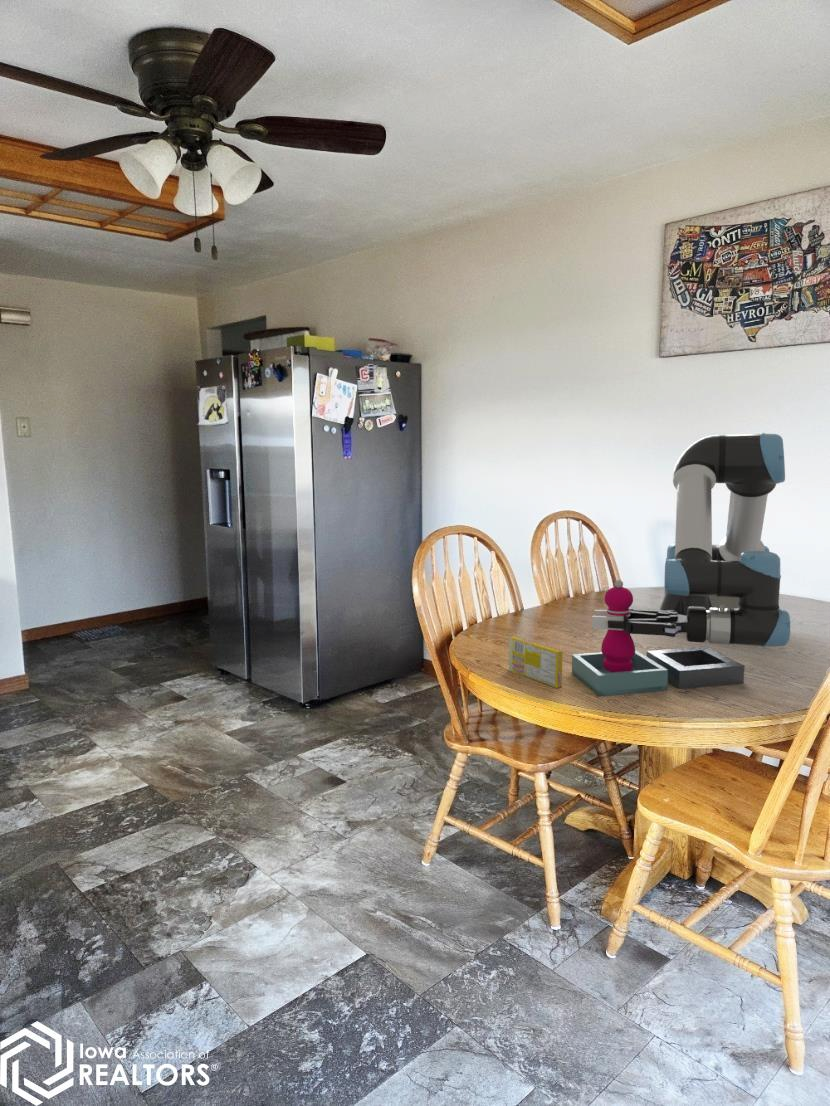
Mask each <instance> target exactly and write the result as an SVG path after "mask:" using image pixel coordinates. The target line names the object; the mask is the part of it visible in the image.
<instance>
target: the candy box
mask: <svg viewBox="0 0 830 1106" xmlns="http://www.w3.org/2000/svg"><path fill="white" fill-rule="evenodd" d="M563 652H564V651H563V650H560V649H557V648H554V647H553V648H552V647H550V646H547V645H544V644H541V643H537V642H535V641H531V640H527V639H526V638H525V639H524V638H521V637H518V636H516V635H515V636H514V635H512V636H509V637H508V671H510V672H513V673H516V674H518V675H521V676H523V677H527V678H529V679H531V680H534V681H536V682H540V683H542V684H545V685H548V686H550V687H552V688H555V689H559V688H561V687H562V685H563V684H562V683H563V682H562V681H563Z"/></svg>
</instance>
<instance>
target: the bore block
mask: <svg viewBox="0 0 830 1106" xmlns="http://www.w3.org/2000/svg"><path fill="white" fill-rule="evenodd" d="M646 657H648V658H649V659H651V660H653V661H654V662H656V663H657V664H659V665H661V666H662V667H664V668H665V669H667V670H668V681H667V683H669V684H671V685H672V686H673V687H675V688H676V689H679V690H682V689H690V688H691V689H692V688H695V689H696V688H703V687H704V688H705V687H717V686H726V685H727V686H728V685H739V684H744V682H745V664H743V663H741V662H739V661H736V660H734V659H732V658H730V657H729V656H726V655H724V654H722V653H721V652H718V651H716V650H714V649H712V648H710V647H708V646H707V645H706V646H694V647H680V648H669V649H658V650H657V649H656V650H646Z"/></svg>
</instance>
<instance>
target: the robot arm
mask: <svg viewBox="0 0 830 1106" xmlns="http://www.w3.org/2000/svg"><path fill="white" fill-rule="evenodd" d="M783 440H784V439H783V438H782V436H781V435H779V434H776V433H766V432H761V433H749V434H748V433H746V434H721V435H720V434H715V435H714V434H713V435H712V434H711V435H708V436H704V437H702V438H700V439H698V440H696V441H695V442H693V443H691V444H690V445H689V446H688V447H687V448H686V449H685V450H684V451H683V452H682V454H681V455H680V456H679V458H678V459H677V462H676V463H675V466H674V469H673V474H672V483H673V484H672V485H673V486H674V488H675V489H676V508H675V509H676V512H675V515H676V516H675V517H676V518H675V540H674V541H675V542H673V543H670V544H669V545H668V546H667V549H666V551H667V552H666V558H665V564H664V583H663V584H664V596H663V600H662V602H661V604H660V608H659V609H643V608H642V609H638V608H629V609H630V610H631V611H630V614H631V615H630V616H629V617H628V619H627V616H624V617H609V616H608V615H607V609H606V610H605V609H594V615H592V618H591V621H592V622H591V623H592V624H591V625H592V628H591V629H594V630H595V629H596V630H607V631H608V630H623V631H626V633H627V634H630V635H647V636H664V637H669V638H670V637H671V638H674V637H676V635H677V634H680V633H681V634H682V633H683V634H684V633H686V641H688V642H689V643H704V642H706V641H708V643H709V644H720V645H745V646H754V647H755V646H756V647H762V648H764V647H784V646H786V645H787V644H788V643H789V641H790V637H791V618H790V617H791V616H790V613H789V612H788V611H787V610H783V609H780V604H779V601H780V589H781V578H782V575H781V558H780V556H779V555H778V554H777V553H775V552H772V551H770V548H769V547H768V546H767V545H765V544H764V542H763V541H762V540H761V539H762V533H763V527H764V521H765V513H766V507H767V501H768V495H769V494H771V493H772V492H773V491H774V489H775V488H776V486H777V485H778V484H780V483H781V484H782V483H784V482H785V481H786V467H785V466H786V463H785V452H784V451H785V449H784V441H783ZM716 484H725V486H726V488H727V490H728V491H729V492H730V493H729V494H730V495H729V504H728V513H727V514H728V515H727V516H728V517H727V526H726V535H725V537H723V539H722V540H721V541H720V543H719V544H713V537H712V536H713V522H712V521H713V520H712V519H713V517H712V514H713V513H712V507H713V506H712V503H713V502H712V499H713V498H712V490H713V488H714V487H715V485H716ZM665 591H666V593H665ZM709 596H716V597H736V598H738V599H739V601H738V605H739V608H725V606H724V605H721V606H720V608H712V605H711V601H710V598H709Z"/></svg>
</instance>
